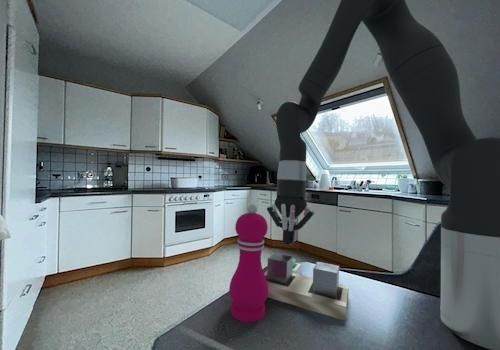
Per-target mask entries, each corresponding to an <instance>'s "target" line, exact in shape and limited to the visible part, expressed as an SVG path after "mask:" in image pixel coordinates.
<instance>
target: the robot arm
mask: <svg viewBox="0 0 500 350" xmlns="http://www.w3.org/2000/svg"><path fill="white" fill-rule="evenodd" d="M361 23H363V24H364V26H365V27H366V29H367V30H368V31H369V33H370V34H371V36H372V37H373V38H374V40H375V42H376V44H377V47H378V50H379V53H380V56H381V58H382V62H383V64H384V67H385V69H386V71H387V73H388V76H389V78H390V80H391V82H392V84H393V87H394V88H395V90H396V92H397V94H398V95H399V97H400V98H401V100H402V102H403V104H404V106H405V108H406V109H407V111H408V113H409V116H410V117H411V119H412V120H413V122H414V124H415V125H416V128H417V129H418V130H419V133H420V135H421V137H422V140H423V142H424V145H425V148H426V150H427V153H428V156H429V159H430V162H431V164H432V167H433V170H434V173H435V174H436V176H437V178H438V180H439V181H440V182H441V183H442V184H444V185H445V186H446V187H447V188H449V202H448V205H447V207H446V208H445V210H444V211H443V212H442V213H441V215H440V216H441V217H440V309H439V310H440V320H441V322H442V324H444V325H445V326H446V327H447V328H448V329H449V330H450V331H451V332H452V333H453V334H454V335H456V336H457V337H458V338H459V337H460V338H461V339H462V340H465V341H467V342H470V343H472V344H474V345H477V346H480V347H482V348H484V349H488V350H500V137H498V136H487V137H486V136H484V137H478V138H477V136H475V134H474V132H473V131H472V129H471V127H470V126H469V124H468V123H467V121H466V118H465V116H464V114H463V109H462V102H461V100H462V99H461V89H460V81H459V75H458V74H459V73H458V70H457V68H456V65H455V62H454V61H453V60H452V57H451V56H450V54H449V53H448V51H447V49H446V47H445V46H444V45H443V43H442V42H441V40H440V39H439V37H438V36H436V35H435V33H433V32H432V31H431V30H429V29H428V28H427V27H425V26H424V25H422V24H421V23H419V21H417V19H415V18H414V16H413V14H412V13H411V11H410V9H409V6H408V4H407V3H406V0H340V2H339V5H338V8H337V9H336V11H335V13H334V17H333V18H332V21H331V23H330V26H329V27H328V29H327V32H326V34H325V37H324V38H323V41H322V42H321V44H320V47H319V49H318V51H317V53H316V54H315V56H314V58H313V60H312V61H311V63H310V65H309V66H308V69H307V70H306V72H305V73H304V75H303V77H302V79H301V81H300V83H299V85H298V87H297V89H298V91H299V93H300V96H301V97H300V101H299V103H298V102H296V101H291V100H289V101H288V100H287V101H285V102H283V103H282V104H281V105H280V106H279V107H278V109H277V111H276V117H275V125H276V131H277V137H278V142H279V147H280V148H279V160H278V161H279V163H278V167H277V175H276V179H277V181H276V183H277V184H276V199H275V200H274V203H273V204H271V205H270V206H268V207H266V211H267V212H268V214H269V216H270V217H271V219H272V221H273V222H274V224H275V225H276V226H277V228H282V242H283V243H284V245H286V246H292V245H293V244H294V243H295V240H296V238H295V237H296V231H297V230H301V229H302V228H303V227H304V226H305V225H306V224H307V223H308V222H309V221H310V220H311V219H312V218H313V217H314V215H315V211H314V210H312V209H310V208H309V207H308V203H307V201H306V190H307V189H306V188H307V142H305V140H304V139H303V138H302V136H301V134H303V133H305V132H306V131H308V130H309V129H310V128H311V127H312V126H313V124H314V122H315V120H316V118H317V115H318V113H319V109H320V107H321V104H322V101H323V98H324V97H325V95H326V94H327V92H328V91H329V89H330V88H331V86H332V85H333V83H334V81H335V80H336V78H337V76H338V75H339V72H341V71H340V70H341V69H342V66H343V64H344V61H345V59H346V56H347V54H348V50H349V48H350V46H351V43H352V40H353V38H354V36H355V34H356V32H357V30H358V28H359V26H360V25H361ZM278 212H279V213H278ZM302 213H303V217H302V219H300V221H299V222H298V217H300V216H301V214H302ZM279 214H280V215H281V217H280V215H279ZM297 222H298V223H297Z"/></svg>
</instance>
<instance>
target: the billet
mask: <svg viewBox="0 0 500 350" xmlns="http://www.w3.org/2000/svg"><path fill="white" fill-rule="evenodd" d="M312 268H313V269H312V272H313V273H312V278H313V294H316V295H320V296H323V297H327V298H331V299H335V300H338V289H339V284H340V282H339V281H340V280H339V279H340V276H339V275H340V265H336V264H331V263H325V262H322V261H317V262H316V263H315V264H314V267H312Z"/></svg>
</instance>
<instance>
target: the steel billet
mask: <svg viewBox="0 0 500 350" xmlns="http://www.w3.org/2000/svg"><path fill="white" fill-rule="evenodd" d="M293 259H294V257H293V256H291V255H286V254H281V253H277V252H276V253H273V254H271V255H270V256H269V257H267V266H266V267H267V268H266V269H267V270H266V271H267V281H268V282H271V283H275V284H279V285H282V286H286V287H288V286H289V285H290V284H291V282H292V267H293Z"/></svg>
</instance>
